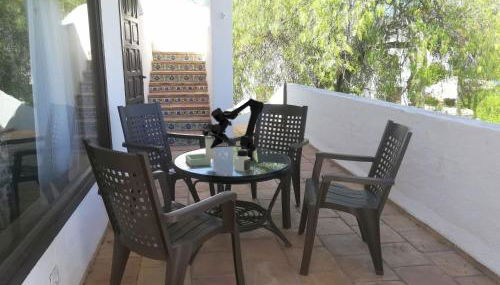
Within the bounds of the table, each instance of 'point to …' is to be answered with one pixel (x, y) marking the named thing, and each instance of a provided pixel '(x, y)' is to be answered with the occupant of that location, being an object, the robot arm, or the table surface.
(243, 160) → the medicine bottle
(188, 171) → the table surface
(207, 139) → the canister
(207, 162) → the tote
